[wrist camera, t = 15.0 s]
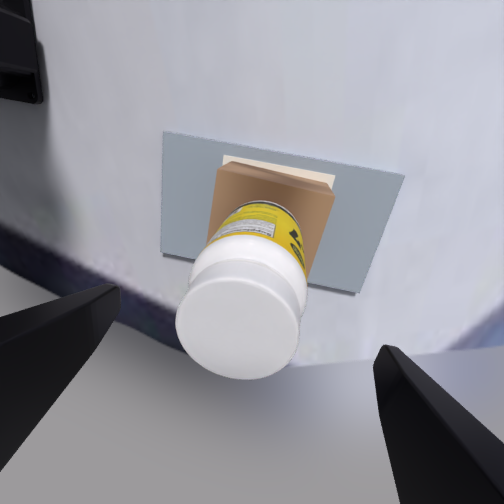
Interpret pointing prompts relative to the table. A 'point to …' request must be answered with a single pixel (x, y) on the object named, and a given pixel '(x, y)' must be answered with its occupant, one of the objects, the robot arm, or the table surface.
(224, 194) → the block
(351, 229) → the board
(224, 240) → the supplement bottle
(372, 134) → the table surface
